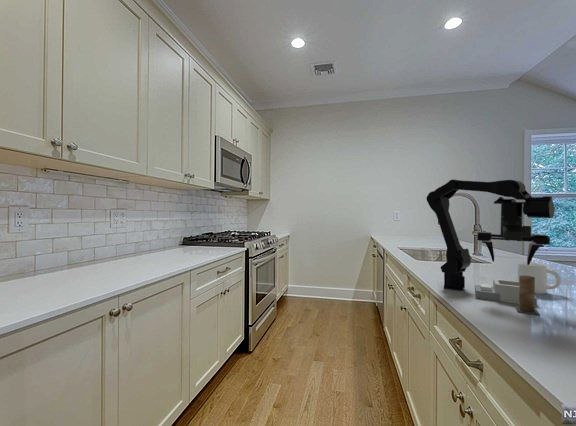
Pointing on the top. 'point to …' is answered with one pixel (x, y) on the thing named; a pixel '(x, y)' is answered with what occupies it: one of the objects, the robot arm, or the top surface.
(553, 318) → the top surface
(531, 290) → the dowel
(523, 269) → the mug
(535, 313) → the pad
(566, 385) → the top surface
